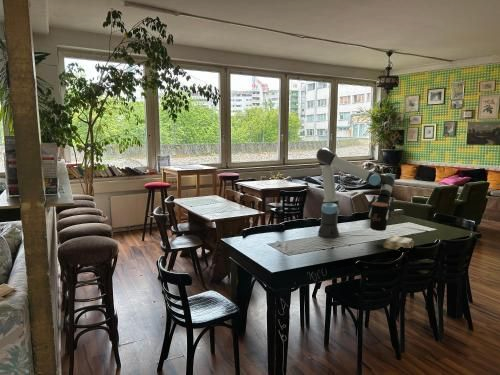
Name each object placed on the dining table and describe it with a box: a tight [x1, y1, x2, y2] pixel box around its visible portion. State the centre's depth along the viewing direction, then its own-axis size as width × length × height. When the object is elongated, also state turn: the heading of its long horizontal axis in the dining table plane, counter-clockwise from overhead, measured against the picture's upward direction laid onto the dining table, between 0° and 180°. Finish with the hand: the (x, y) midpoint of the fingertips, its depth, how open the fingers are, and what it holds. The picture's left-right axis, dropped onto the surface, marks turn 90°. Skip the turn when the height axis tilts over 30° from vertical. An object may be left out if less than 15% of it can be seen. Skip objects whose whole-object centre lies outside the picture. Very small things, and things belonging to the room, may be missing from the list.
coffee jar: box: [369, 201, 389, 232], centre depth 253 cm, size 11×11×18 cm
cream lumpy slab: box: [383, 235, 415, 251], centre depth 246 cm, size 16×16×5 cm
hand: (378, 217), depth 251 cm, fingers closed on coffee jar, 11 cm apart
